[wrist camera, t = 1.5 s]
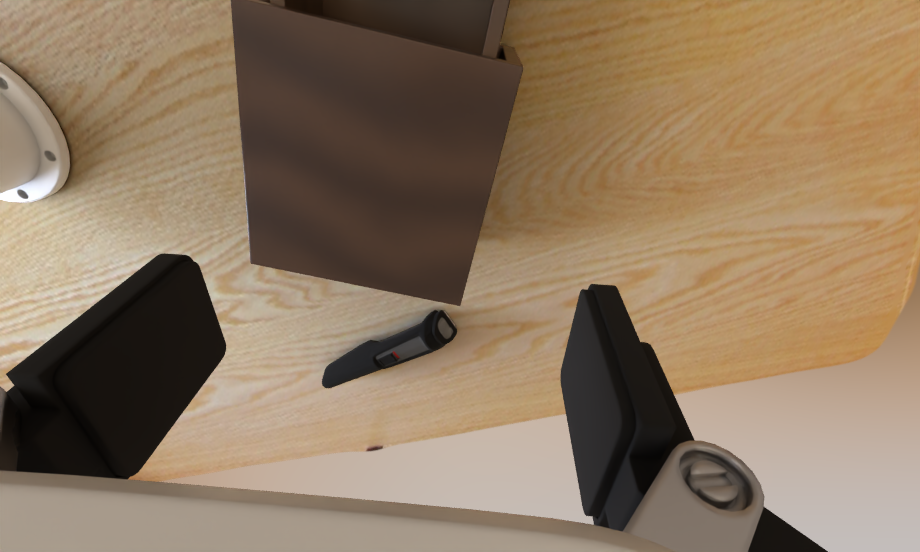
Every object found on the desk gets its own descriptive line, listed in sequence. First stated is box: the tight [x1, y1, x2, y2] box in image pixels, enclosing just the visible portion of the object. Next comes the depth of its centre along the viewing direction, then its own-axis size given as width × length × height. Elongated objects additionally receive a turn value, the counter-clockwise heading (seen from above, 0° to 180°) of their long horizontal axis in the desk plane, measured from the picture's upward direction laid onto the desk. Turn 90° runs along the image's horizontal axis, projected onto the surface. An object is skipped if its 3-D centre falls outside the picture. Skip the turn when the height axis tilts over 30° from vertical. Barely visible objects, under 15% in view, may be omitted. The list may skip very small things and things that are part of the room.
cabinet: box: [231, 0, 523, 306], centre depth 30 cm, size 16×15×9 cm
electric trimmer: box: [322, 310, 457, 388], centre depth 44 cm, size 4×16×3 cm, turn 120°
